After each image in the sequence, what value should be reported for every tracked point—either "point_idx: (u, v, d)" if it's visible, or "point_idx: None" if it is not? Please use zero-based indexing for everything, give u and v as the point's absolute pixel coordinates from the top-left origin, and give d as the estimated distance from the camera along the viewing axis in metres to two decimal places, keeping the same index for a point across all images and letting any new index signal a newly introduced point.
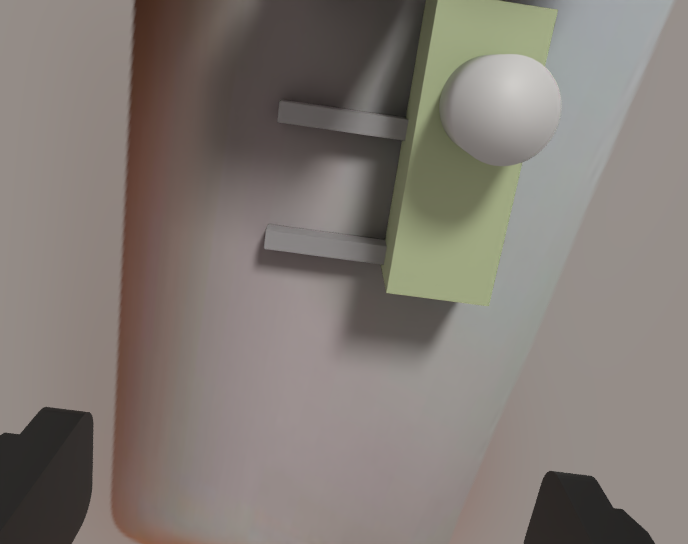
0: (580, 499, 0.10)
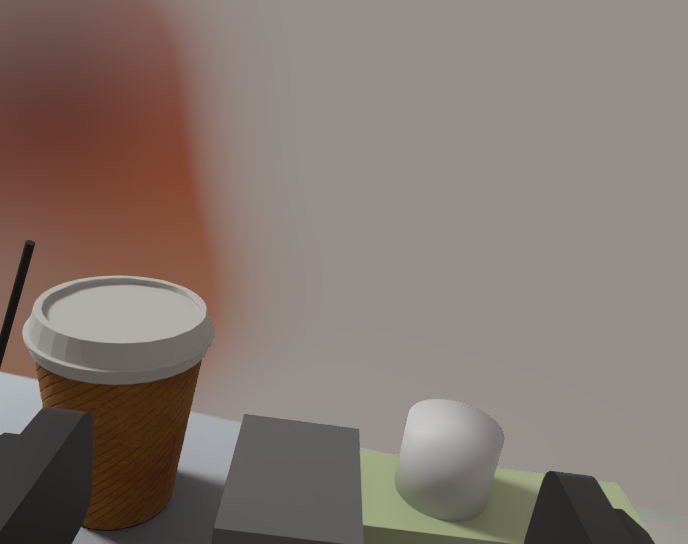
0: (580, 499, 0.10)
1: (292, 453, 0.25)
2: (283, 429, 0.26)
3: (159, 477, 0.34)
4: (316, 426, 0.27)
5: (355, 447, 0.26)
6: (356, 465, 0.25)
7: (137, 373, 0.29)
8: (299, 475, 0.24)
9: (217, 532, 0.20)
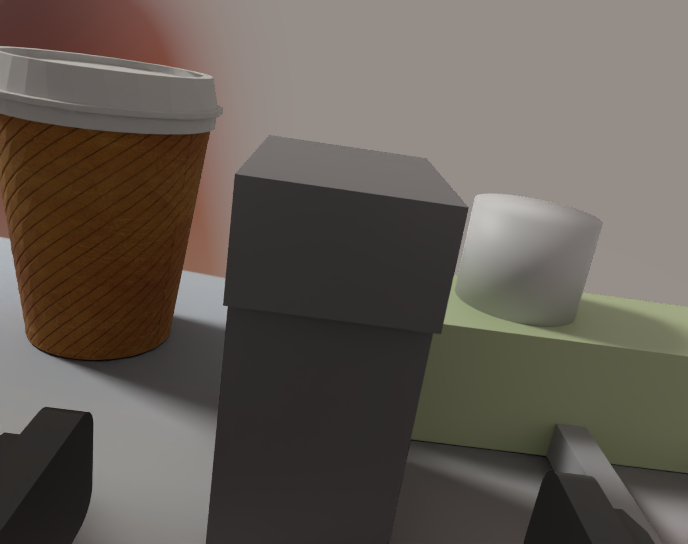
0: (580, 499, 0.10)
1: (341, 157, 0.17)
2: (324, 146, 0.19)
3: (154, 294, 0.27)
4: (369, 151, 0.19)
5: (426, 164, 0.18)
6: (432, 171, 0.17)
7: (122, 113, 0.22)
8: (356, 166, 0.16)
9: (241, 182, 0.13)
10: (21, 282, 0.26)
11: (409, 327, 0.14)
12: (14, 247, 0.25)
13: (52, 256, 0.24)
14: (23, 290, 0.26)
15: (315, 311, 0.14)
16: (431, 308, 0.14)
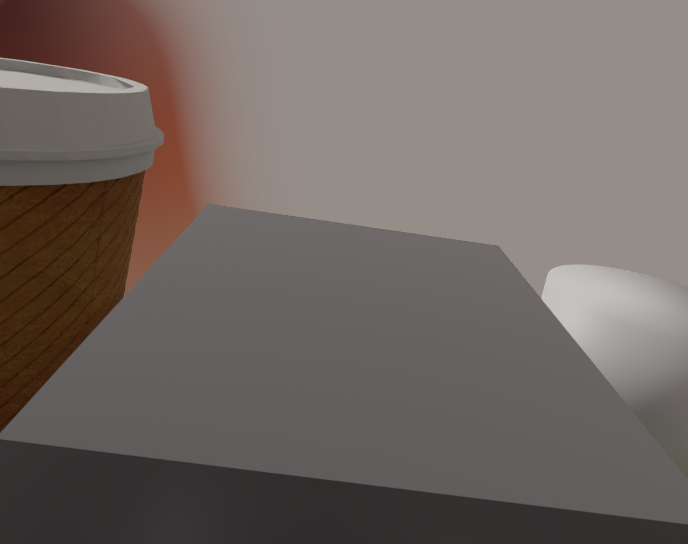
0: None
1: (342, 267, 0.08)
2: (309, 230, 0.10)
3: None
4: (393, 234, 0.10)
5: (507, 270, 0.09)
6: (531, 299, 0.08)
7: None
8: (372, 306, 0.07)
9: (17, 461, 0.04)
10: None
11: None
12: None
13: None
14: None
15: None
16: None
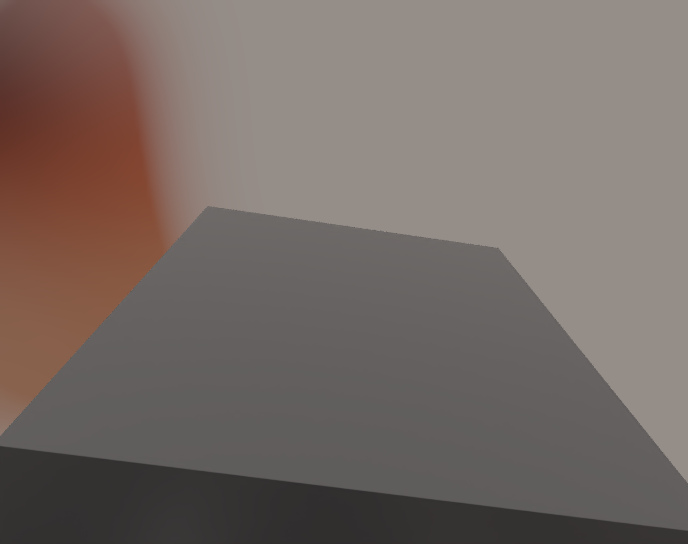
0: None
1: (341, 270, 0.08)
2: (309, 233, 0.10)
3: None
4: (393, 236, 0.10)
5: (508, 272, 0.09)
6: (531, 302, 0.08)
7: None
8: (372, 309, 0.07)
9: (15, 468, 0.04)
10: None
11: None
12: None
13: None
14: None
15: None
16: None
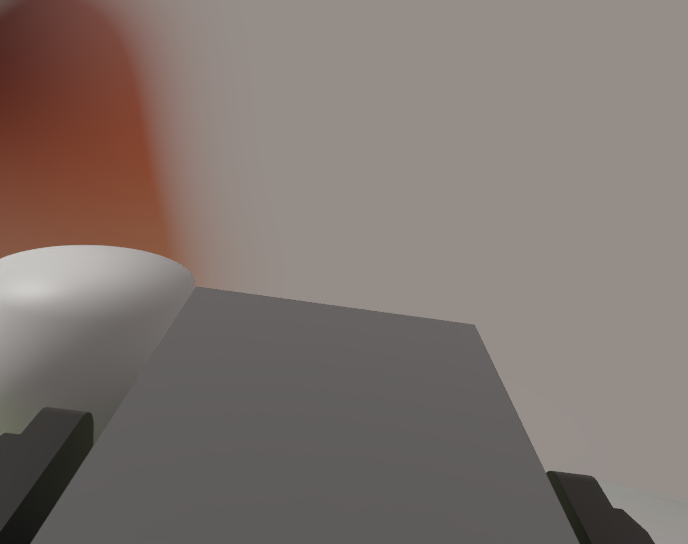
0: (579, 499, 0.10)
1: (319, 366, 0.09)
2: (291, 317, 0.10)
3: None
4: (373, 316, 0.11)
5: (480, 358, 0.10)
6: (499, 397, 0.09)
7: None
8: (344, 418, 0.08)
9: None
10: None
11: None
12: None
13: None
14: None
15: None
16: None
